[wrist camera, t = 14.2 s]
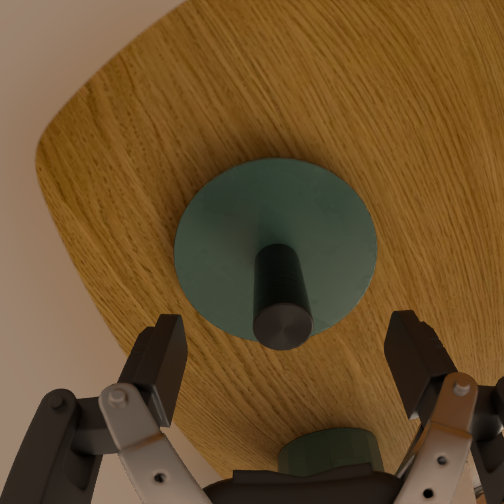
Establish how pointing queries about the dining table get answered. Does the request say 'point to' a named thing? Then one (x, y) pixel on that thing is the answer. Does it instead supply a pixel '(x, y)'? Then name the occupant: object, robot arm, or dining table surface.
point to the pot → (329, 451)
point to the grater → (465, 489)
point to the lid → (275, 250)
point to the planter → (479, 495)
